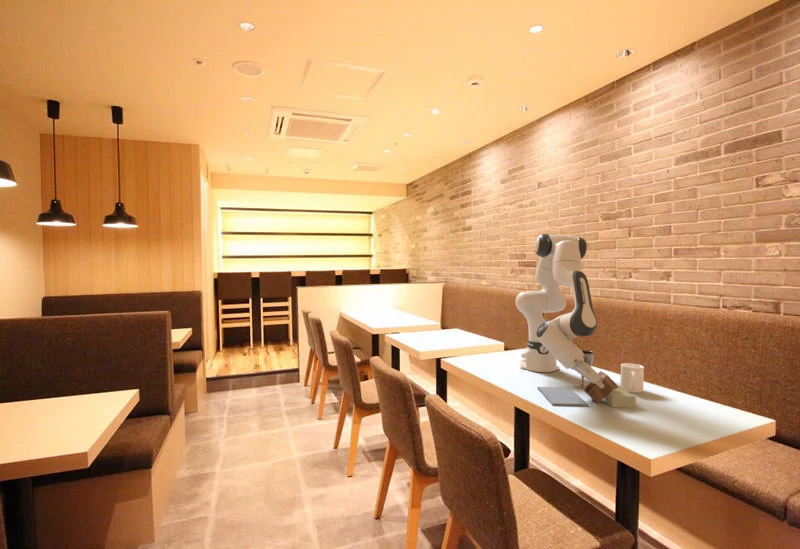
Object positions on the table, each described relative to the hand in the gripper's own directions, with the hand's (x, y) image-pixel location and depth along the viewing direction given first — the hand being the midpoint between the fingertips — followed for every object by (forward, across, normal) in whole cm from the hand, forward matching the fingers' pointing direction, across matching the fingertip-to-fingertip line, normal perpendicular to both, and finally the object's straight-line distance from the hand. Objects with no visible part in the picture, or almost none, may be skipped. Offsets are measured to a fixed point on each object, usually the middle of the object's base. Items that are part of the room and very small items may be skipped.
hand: (597, 383), depth 154 cm
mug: (+19, +13, -9) cm, 25 cm away
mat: (-4, +4, +13) cm, 14 cm away
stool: (+6, 0, +4) cm, 7 cm away
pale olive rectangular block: (+10, 0, 0) cm, 10 cm away
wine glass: (+6, +18, +4) cm, 19 cm away
